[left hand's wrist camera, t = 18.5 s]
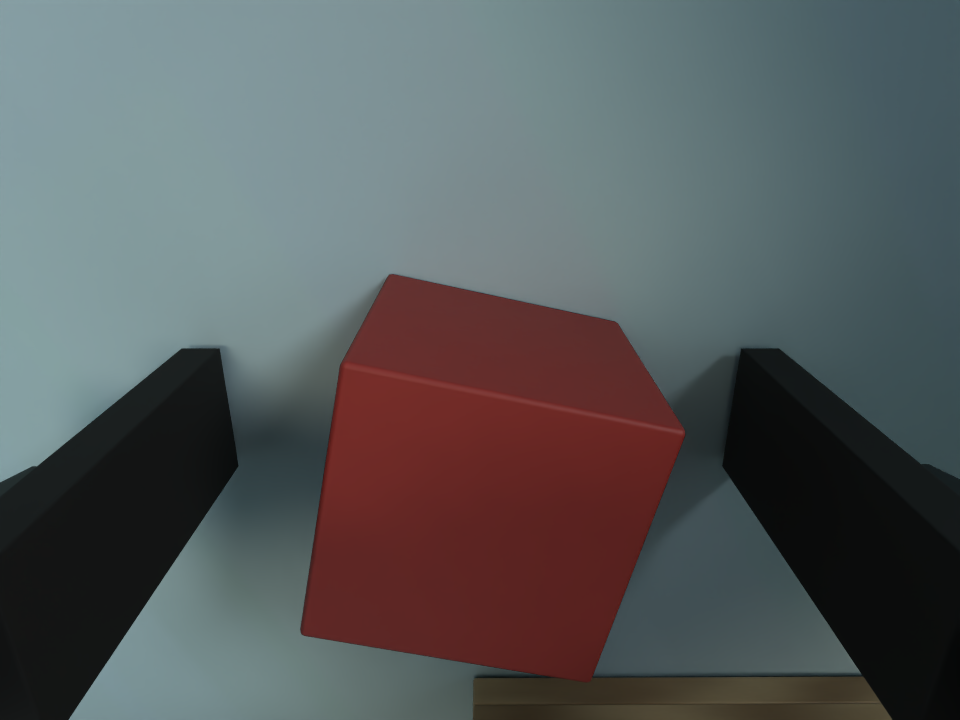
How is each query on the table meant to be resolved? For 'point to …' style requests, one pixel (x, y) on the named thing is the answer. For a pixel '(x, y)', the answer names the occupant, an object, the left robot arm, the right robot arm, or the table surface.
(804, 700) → the chest
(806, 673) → the table surface
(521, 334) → the block
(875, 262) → the table surface
